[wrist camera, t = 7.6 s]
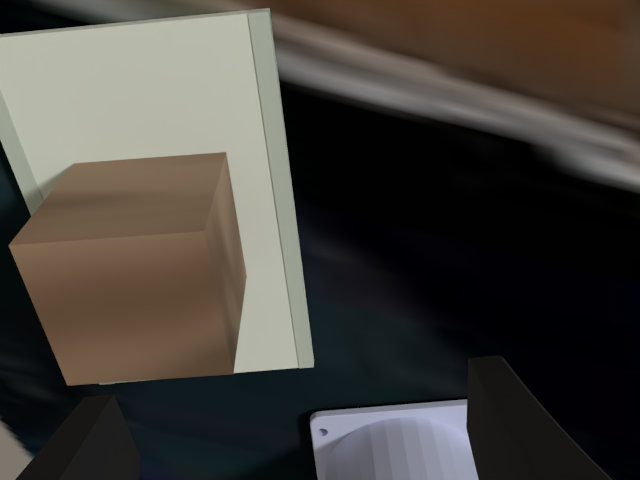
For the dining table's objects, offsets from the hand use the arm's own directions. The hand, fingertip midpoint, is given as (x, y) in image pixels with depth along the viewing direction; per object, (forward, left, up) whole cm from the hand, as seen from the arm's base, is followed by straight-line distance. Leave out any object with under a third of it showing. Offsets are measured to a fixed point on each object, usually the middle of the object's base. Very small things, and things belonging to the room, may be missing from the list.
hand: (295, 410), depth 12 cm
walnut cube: (-1, +5, -9) cm, 11 cm away
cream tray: (-1, +5, -10) cm, 11 cm away
